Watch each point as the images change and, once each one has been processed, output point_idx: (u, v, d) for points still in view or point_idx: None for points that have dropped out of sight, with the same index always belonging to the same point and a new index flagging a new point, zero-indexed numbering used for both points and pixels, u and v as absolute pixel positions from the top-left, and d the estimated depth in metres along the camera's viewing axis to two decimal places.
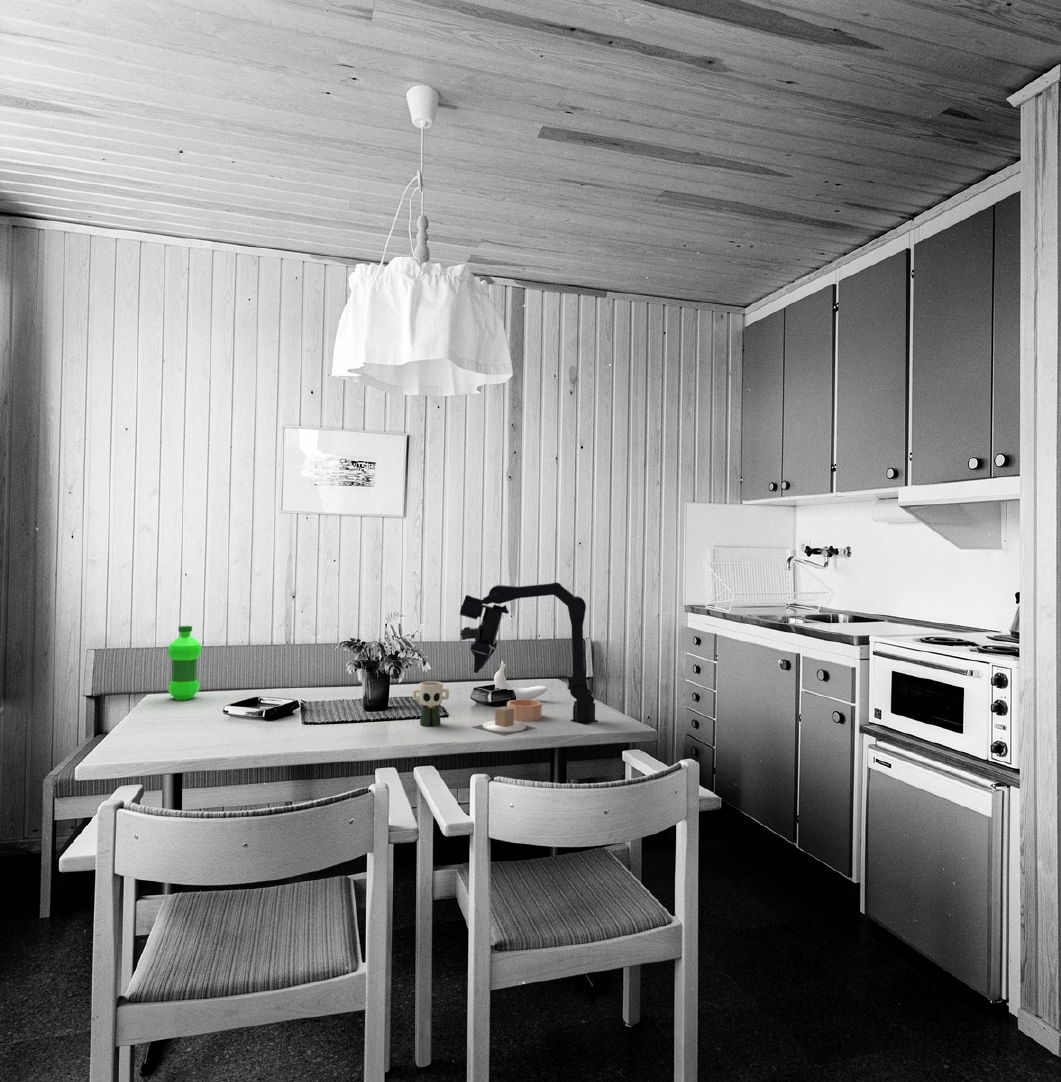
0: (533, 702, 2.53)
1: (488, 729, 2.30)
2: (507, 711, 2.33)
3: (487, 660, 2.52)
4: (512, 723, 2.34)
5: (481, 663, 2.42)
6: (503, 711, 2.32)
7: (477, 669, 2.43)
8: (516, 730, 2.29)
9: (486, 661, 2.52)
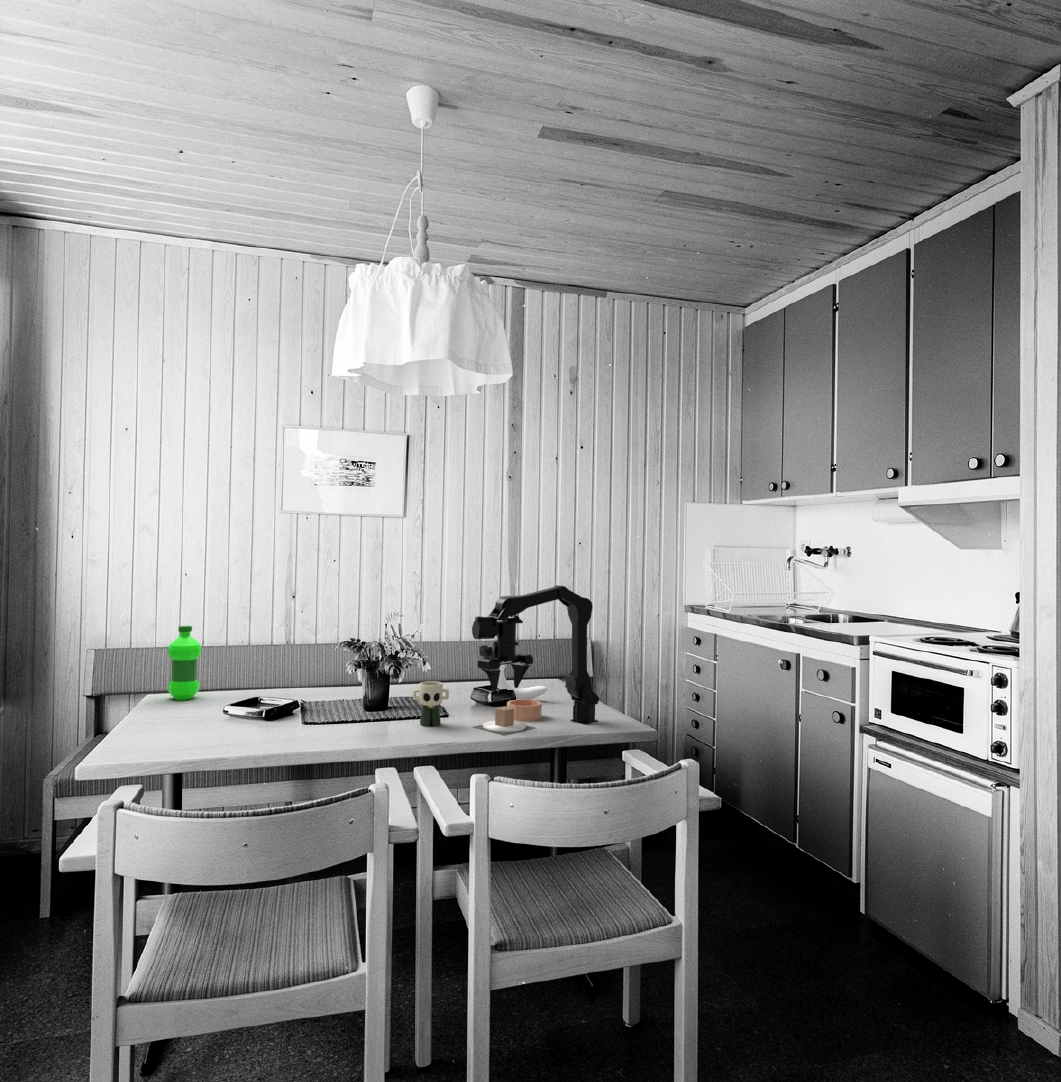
0: (533, 702, 2.53)
1: (488, 729, 2.30)
2: (507, 711, 2.33)
3: (520, 678, 2.37)
4: (512, 723, 2.34)
5: (494, 680, 2.30)
6: (503, 711, 2.32)
7: (494, 687, 2.31)
8: (516, 730, 2.29)
9: (519, 679, 2.37)
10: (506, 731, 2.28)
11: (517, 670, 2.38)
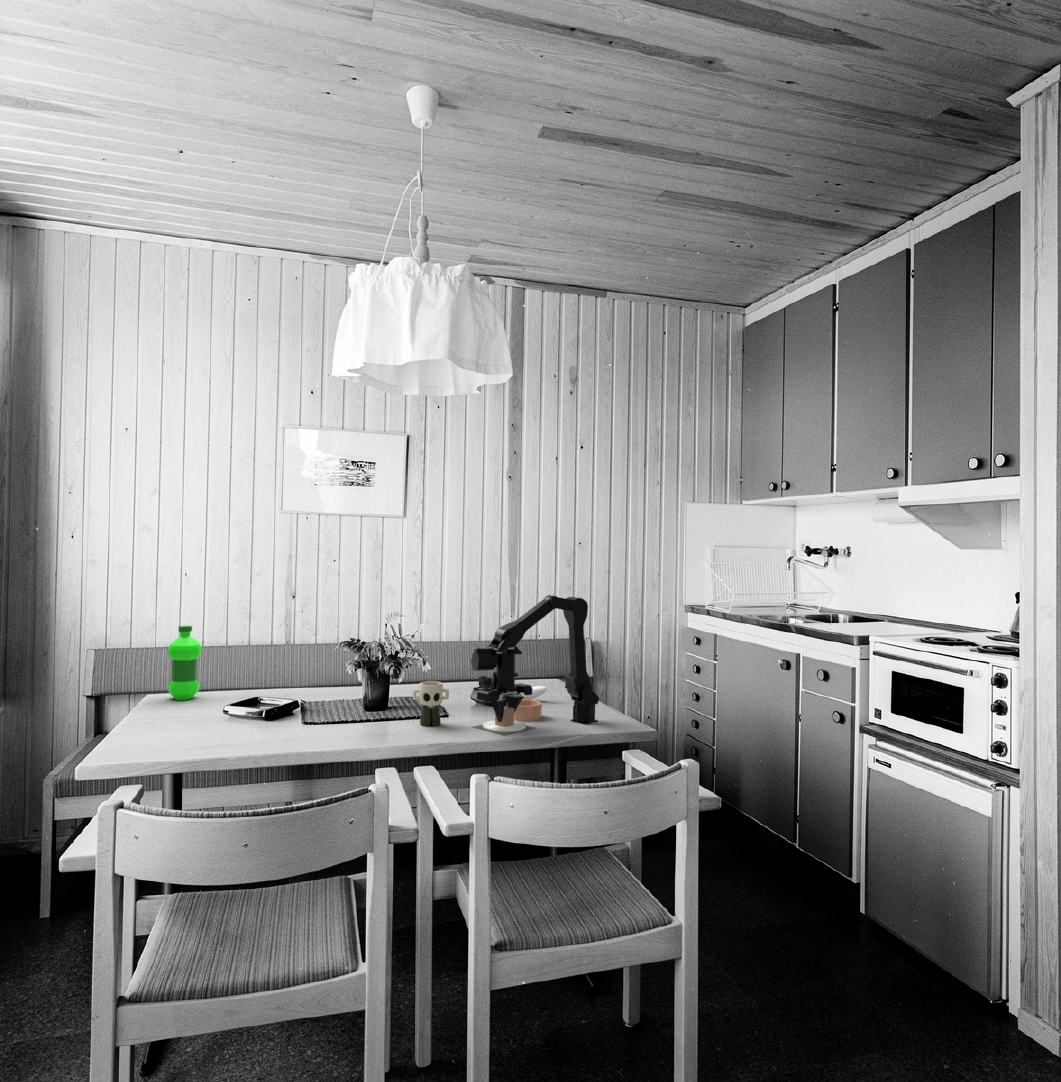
0: (533, 702, 2.53)
1: (488, 729, 2.30)
2: (507, 711, 2.33)
3: None
4: (512, 723, 2.34)
5: (499, 711, 2.31)
6: None
7: (499, 718, 2.32)
8: (516, 730, 2.29)
9: None
10: (506, 731, 2.28)
11: (511, 702, 2.36)
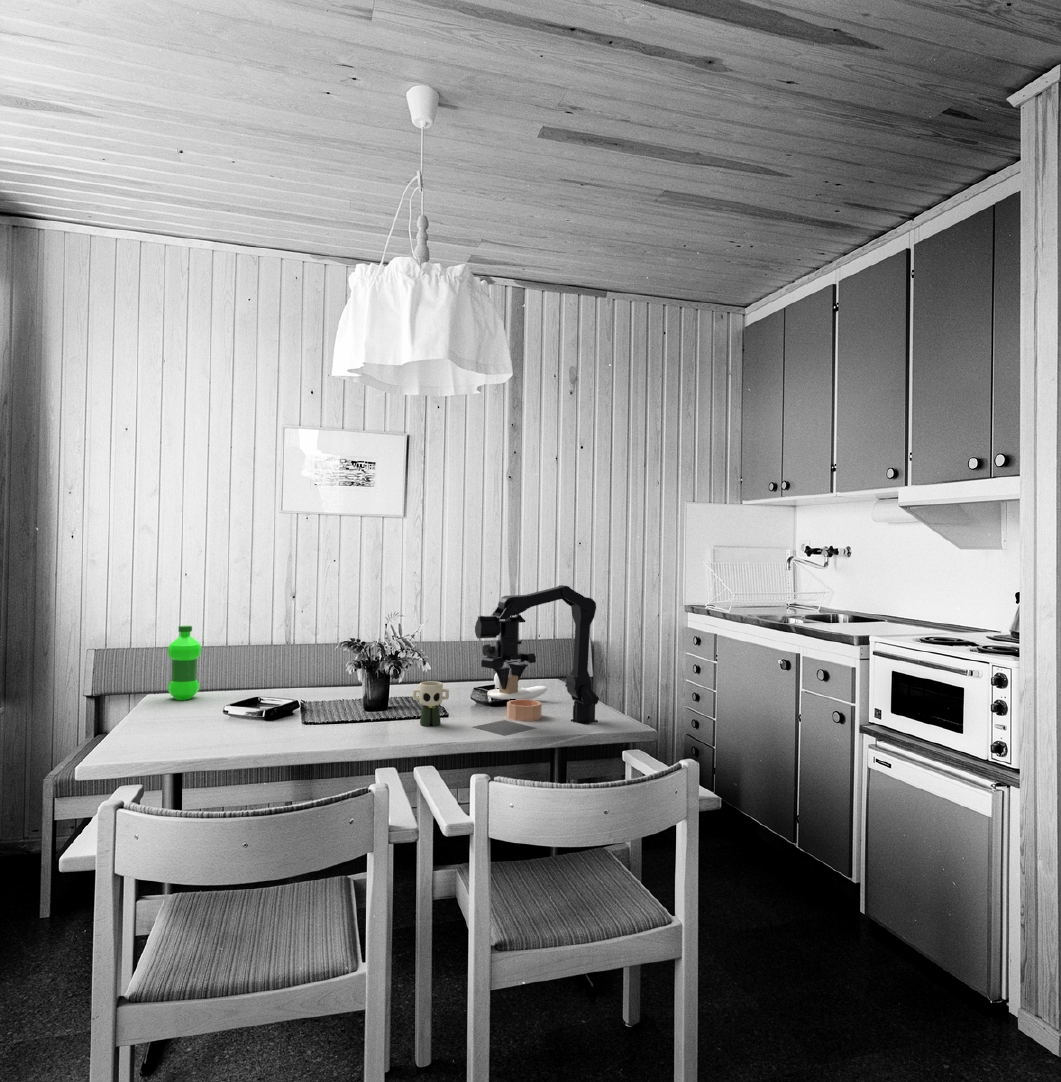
0: (533, 702, 2.53)
1: (493, 696, 2.32)
2: (511, 678, 2.35)
3: None
4: (516, 690, 2.36)
5: (503, 678, 2.33)
6: None
7: (503, 685, 2.34)
8: (520, 697, 2.31)
9: None
10: (511, 698, 2.30)
11: (515, 670, 2.38)
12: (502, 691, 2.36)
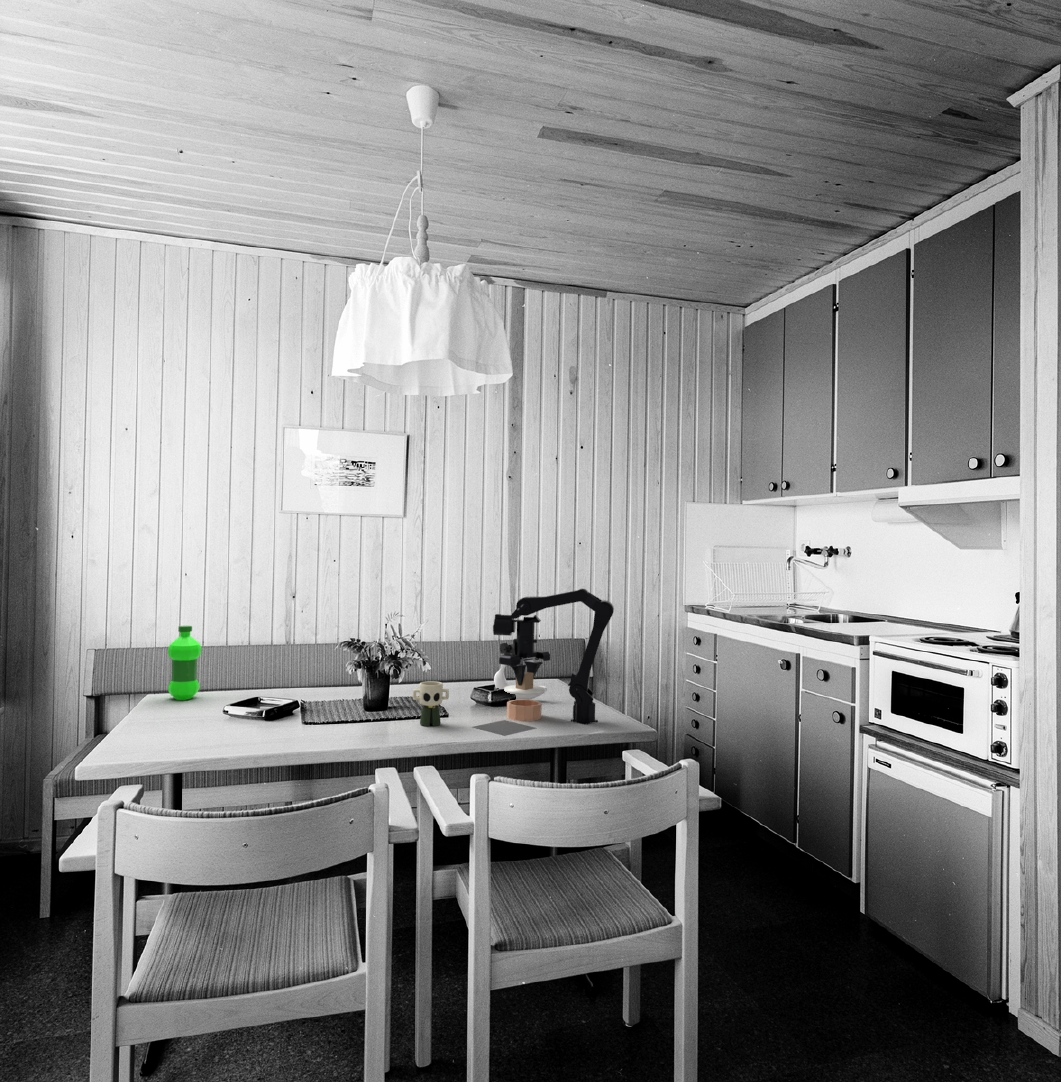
0: (533, 702, 2.53)
1: (510, 692, 2.45)
2: (527, 675, 2.47)
3: (533, 674, 2.50)
4: (532, 686, 2.49)
5: (520, 675, 2.46)
6: None
7: (519, 681, 2.47)
8: (536, 692, 2.44)
9: None
10: (527, 693, 2.43)
11: (530, 667, 2.51)
12: (518, 687, 2.48)
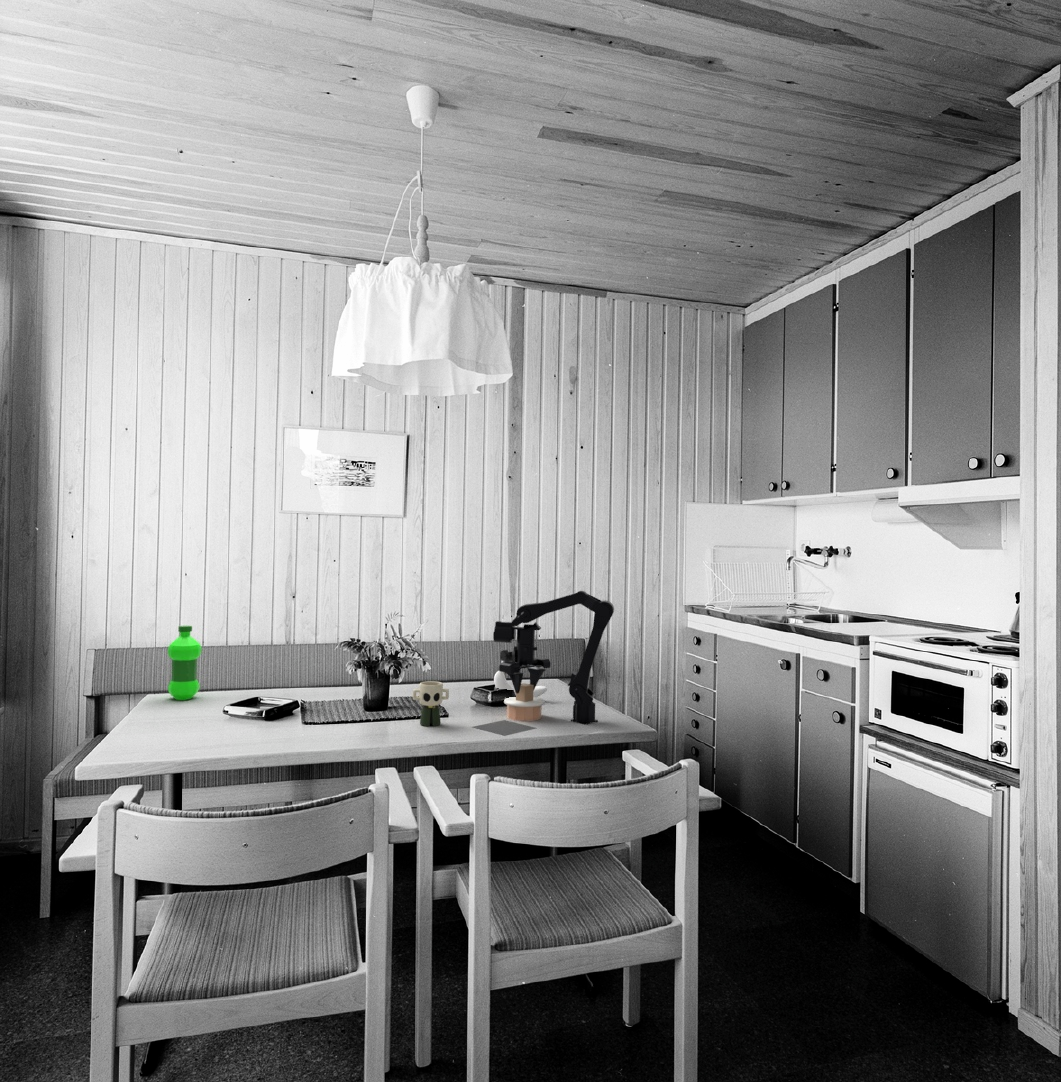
0: None
1: (509, 704, 2.45)
2: (527, 687, 2.48)
3: (536, 681, 2.51)
4: (532, 699, 2.49)
5: (517, 683, 2.45)
6: (523, 687, 2.47)
7: (516, 689, 2.46)
8: (536, 705, 2.44)
9: (535, 682, 2.51)
10: (526, 705, 2.43)
11: (533, 674, 2.52)
12: (518, 699, 2.49)
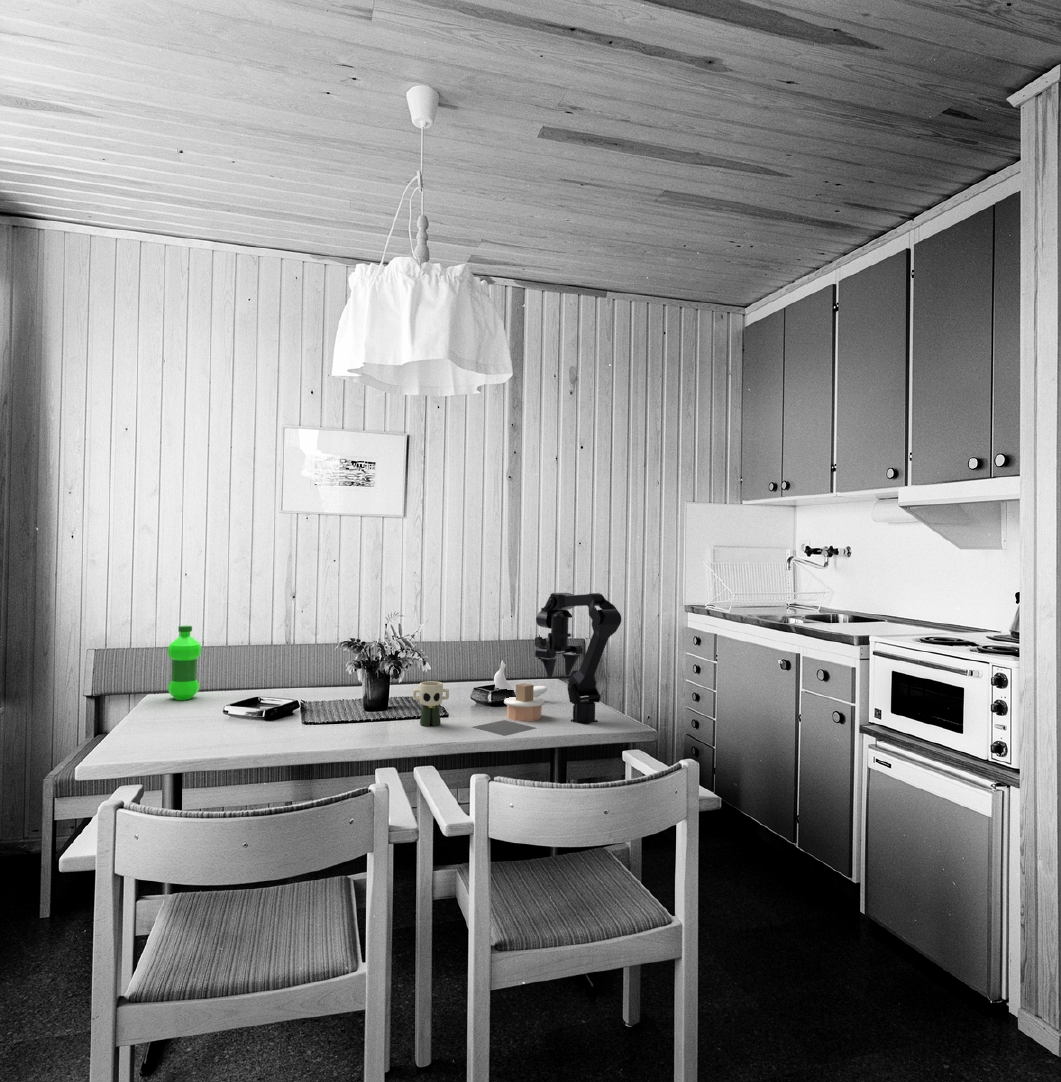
0: None
1: (509, 704, 2.45)
2: (527, 687, 2.48)
3: (571, 666, 2.61)
4: (532, 699, 2.49)
5: (550, 668, 2.54)
6: (523, 687, 2.47)
7: (549, 675, 2.55)
8: (536, 705, 2.44)
9: (570, 667, 2.61)
10: (526, 705, 2.43)
11: (568, 659, 2.63)
12: (518, 699, 2.49)
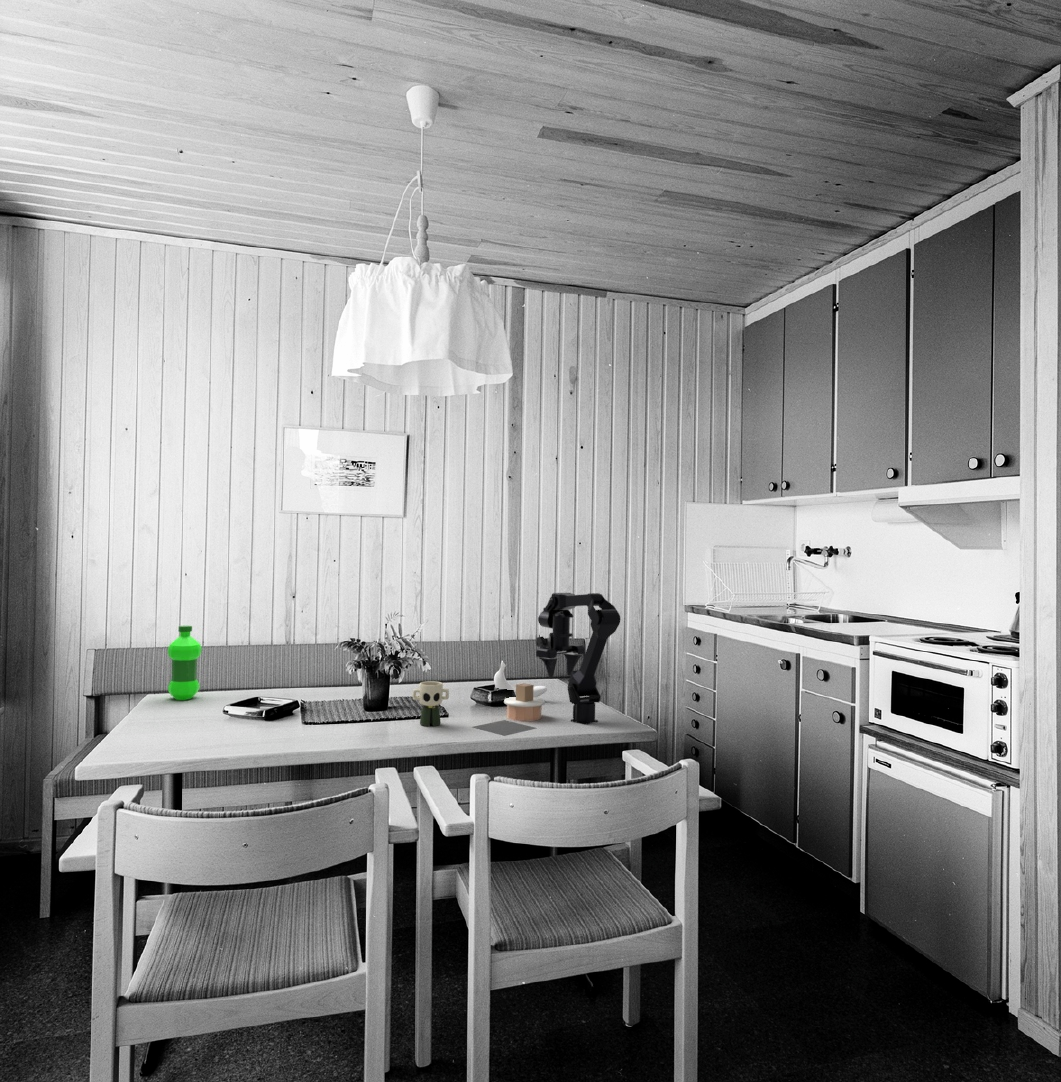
0: None
1: (509, 704, 2.45)
2: (527, 687, 2.48)
3: (573, 666, 2.62)
4: (532, 699, 2.49)
5: (551, 668, 2.54)
6: (523, 687, 2.47)
7: (550, 674, 2.55)
8: (536, 705, 2.44)
9: (572, 667, 2.62)
10: (526, 705, 2.43)
11: (570, 659, 2.63)
12: (518, 699, 2.49)
